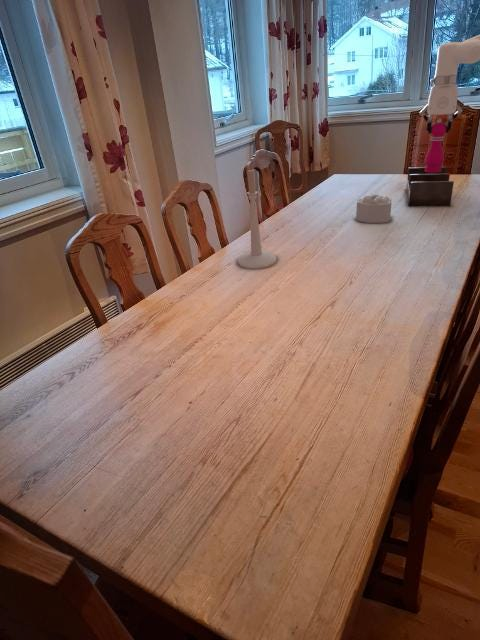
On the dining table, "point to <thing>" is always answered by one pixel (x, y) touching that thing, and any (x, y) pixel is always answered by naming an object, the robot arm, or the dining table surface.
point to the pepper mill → (435, 148)
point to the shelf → (428, 187)
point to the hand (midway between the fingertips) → (437, 132)
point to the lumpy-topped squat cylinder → (374, 209)
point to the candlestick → (255, 235)
